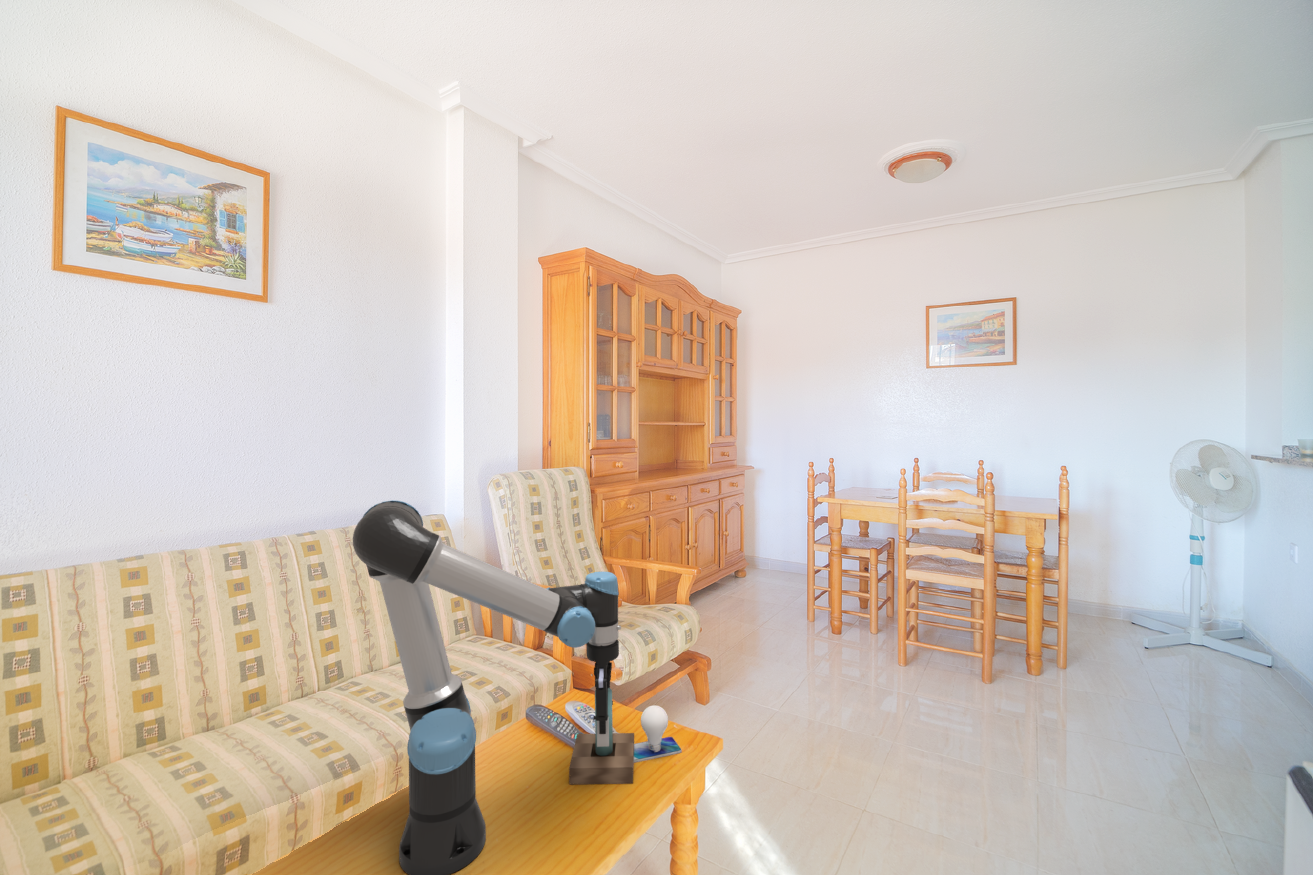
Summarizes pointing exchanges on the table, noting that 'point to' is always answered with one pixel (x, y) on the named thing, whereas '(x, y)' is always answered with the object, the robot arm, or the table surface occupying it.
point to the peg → (609, 749)
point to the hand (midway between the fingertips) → (603, 739)
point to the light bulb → (654, 726)
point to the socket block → (602, 761)
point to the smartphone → (667, 748)
